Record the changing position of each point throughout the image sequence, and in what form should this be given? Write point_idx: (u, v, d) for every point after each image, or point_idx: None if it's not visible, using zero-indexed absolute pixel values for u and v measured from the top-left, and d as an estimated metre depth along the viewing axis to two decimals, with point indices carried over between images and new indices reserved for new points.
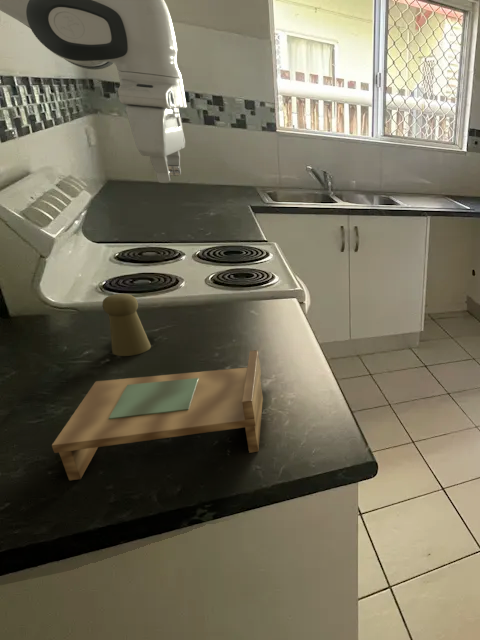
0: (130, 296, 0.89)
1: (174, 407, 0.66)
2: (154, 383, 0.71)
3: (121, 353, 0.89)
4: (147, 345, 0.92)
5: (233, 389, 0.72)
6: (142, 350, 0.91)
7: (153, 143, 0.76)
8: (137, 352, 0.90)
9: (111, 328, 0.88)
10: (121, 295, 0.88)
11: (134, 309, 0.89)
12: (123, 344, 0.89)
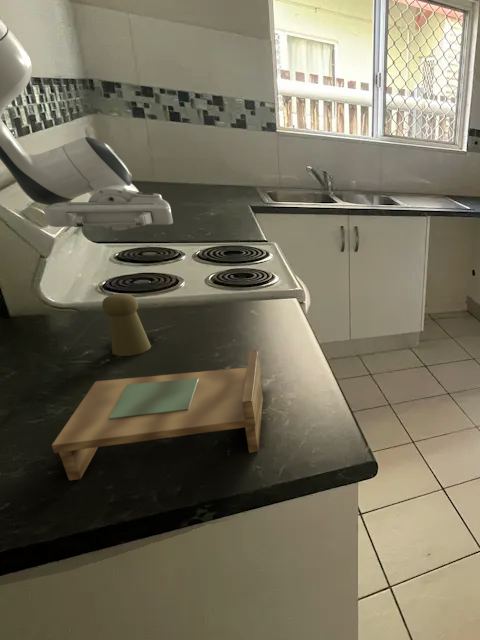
0: (130, 296, 0.89)
1: (174, 407, 0.66)
2: (154, 383, 0.71)
3: (121, 353, 0.89)
4: (147, 345, 0.92)
5: (233, 389, 0.72)
6: (142, 350, 0.91)
7: None
8: (137, 352, 0.90)
9: (111, 328, 0.88)
10: (121, 295, 0.88)
11: (134, 309, 0.89)
12: (123, 344, 0.89)
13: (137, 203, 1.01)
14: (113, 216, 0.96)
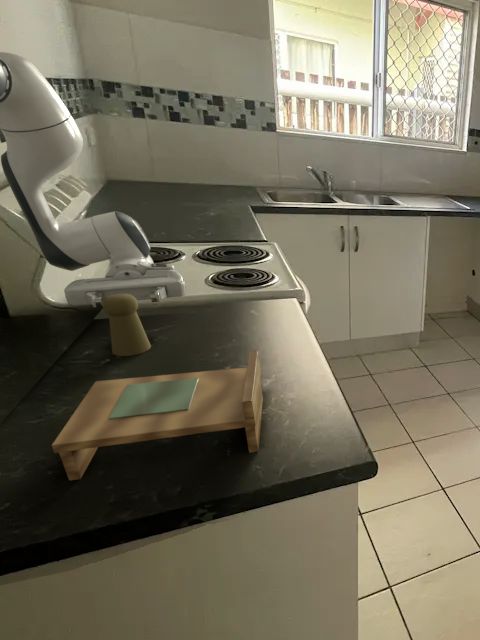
0: (130, 296, 0.89)
1: (174, 407, 0.66)
2: (154, 383, 0.71)
3: (121, 353, 0.89)
4: (147, 345, 0.92)
5: (233, 389, 0.72)
6: (142, 350, 0.91)
7: None
8: (137, 352, 0.90)
9: (111, 328, 0.88)
10: (121, 295, 0.88)
11: (134, 309, 0.89)
12: (123, 344, 0.89)
13: (151, 276, 1.06)
14: (129, 292, 1.01)
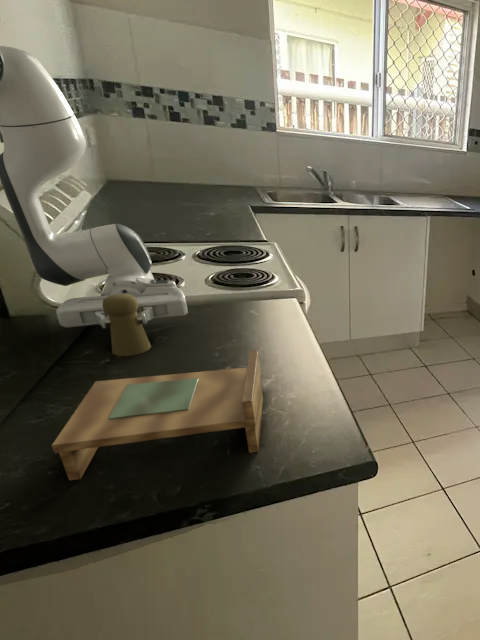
0: (130, 296, 0.89)
1: (174, 407, 0.66)
2: (154, 383, 0.71)
3: (121, 353, 0.89)
4: (147, 345, 0.92)
5: (233, 389, 0.72)
6: (142, 350, 0.91)
7: None
8: (137, 352, 0.90)
9: (111, 328, 0.88)
10: (121, 295, 0.88)
11: (134, 309, 0.89)
12: (123, 344, 0.89)
13: (151, 294, 0.98)
14: None
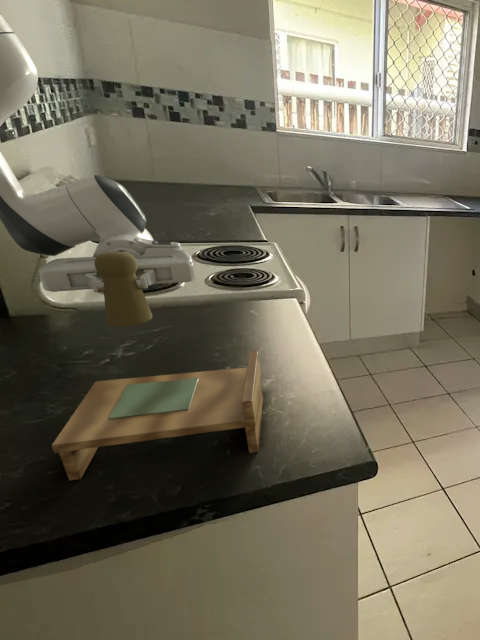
0: (128, 254, 0.74)
1: (174, 407, 0.66)
2: (154, 383, 0.71)
3: (117, 323, 0.75)
4: (148, 314, 0.78)
5: (233, 389, 0.72)
6: (142, 320, 0.77)
7: None
8: (136, 322, 0.76)
9: (105, 292, 0.74)
10: (117, 253, 0.73)
11: (133, 270, 0.74)
12: (119, 311, 0.74)
13: (152, 256, 0.84)
14: None
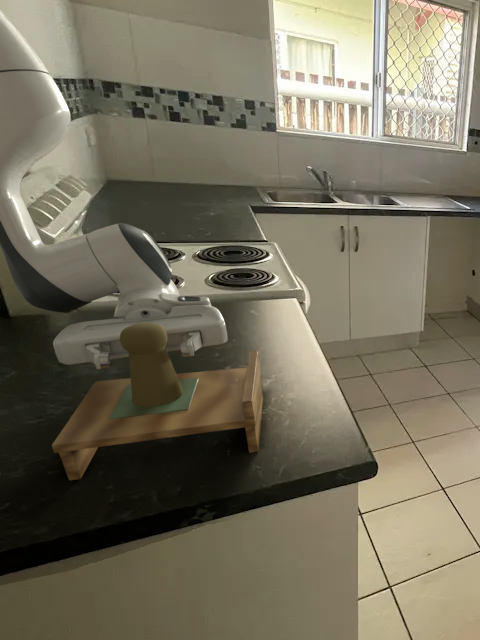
0: (157, 326, 0.65)
1: (174, 407, 0.66)
2: None
3: (145, 403, 0.66)
4: (179, 390, 0.69)
5: (233, 389, 0.72)
6: (172, 398, 0.67)
7: None
8: (166, 401, 0.67)
9: (131, 370, 0.64)
10: (145, 325, 0.64)
11: (163, 344, 0.65)
12: (147, 391, 0.65)
13: (179, 315, 0.74)
14: None
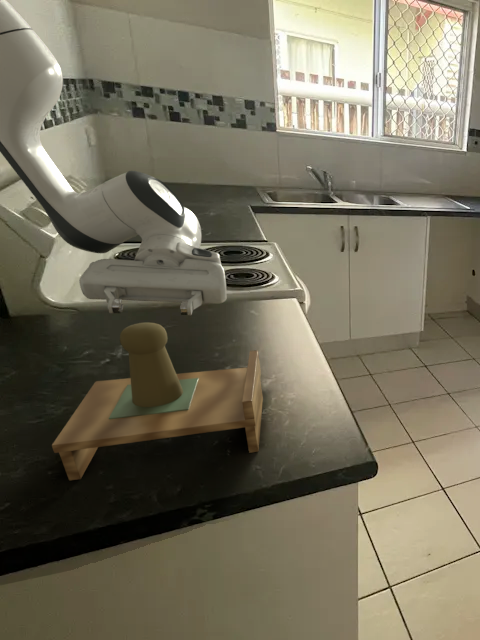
0: (157, 326, 0.65)
1: (174, 407, 0.66)
2: None
3: (145, 403, 0.66)
4: (179, 390, 0.69)
5: (233, 389, 0.72)
6: (172, 398, 0.67)
7: (226, 292, 0.85)
8: (166, 401, 0.67)
9: (131, 370, 0.64)
10: (145, 325, 0.64)
11: (163, 344, 0.65)
12: (147, 391, 0.65)
13: (189, 268, 0.84)
14: (158, 291, 0.80)
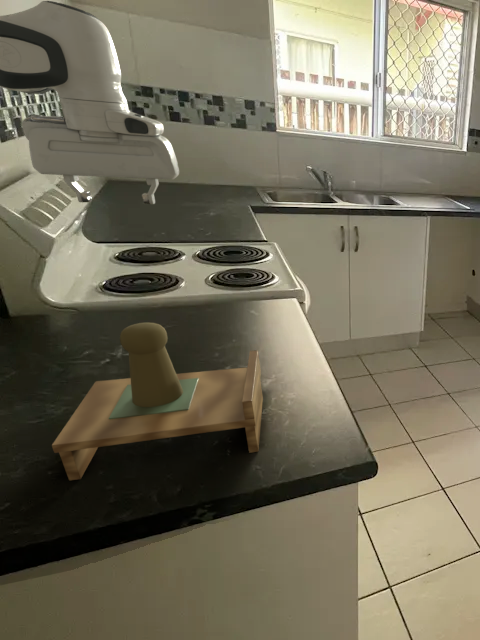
0: (157, 326, 0.65)
1: (174, 407, 0.66)
2: None
3: (145, 403, 0.66)
4: (179, 390, 0.69)
5: (233, 389, 0.72)
6: (172, 398, 0.67)
7: (177, 167, 0.88)
8: (166, 401, 0.67)
9: (131, 370, 0.64)
10: (145, 325, 0.64)
11: (163, 344, 0.65)
12: (147, 391, 0.65)
13: (131, 145, 0.82)
14: None
